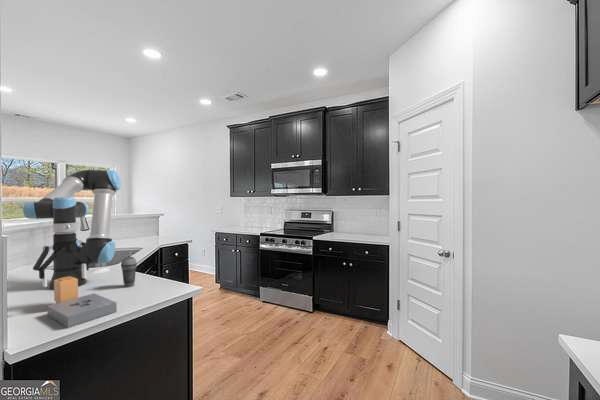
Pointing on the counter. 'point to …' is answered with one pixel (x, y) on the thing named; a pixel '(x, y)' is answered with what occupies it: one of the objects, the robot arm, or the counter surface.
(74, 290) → the plug
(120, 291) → the counter surface
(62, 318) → the socket
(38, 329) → the counter surface
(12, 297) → the counter surface
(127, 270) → the beverage cup
